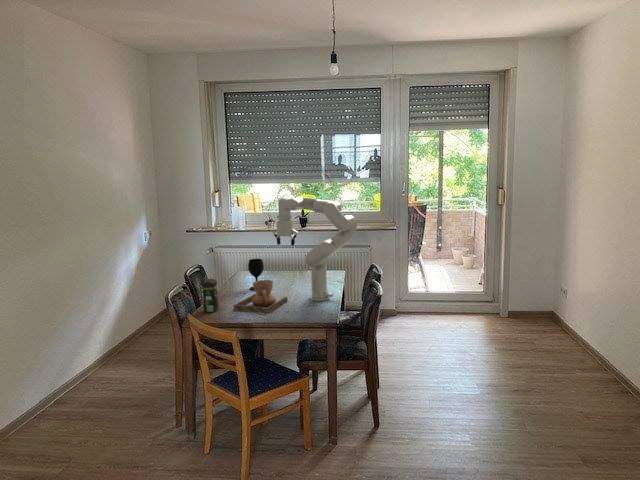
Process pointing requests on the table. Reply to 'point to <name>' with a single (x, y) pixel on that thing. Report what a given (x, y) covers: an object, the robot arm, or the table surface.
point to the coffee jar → (210, 295)
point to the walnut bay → (243, 307)
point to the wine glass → (255, 268)
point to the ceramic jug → (263, 293)
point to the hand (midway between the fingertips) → (285, 244)
